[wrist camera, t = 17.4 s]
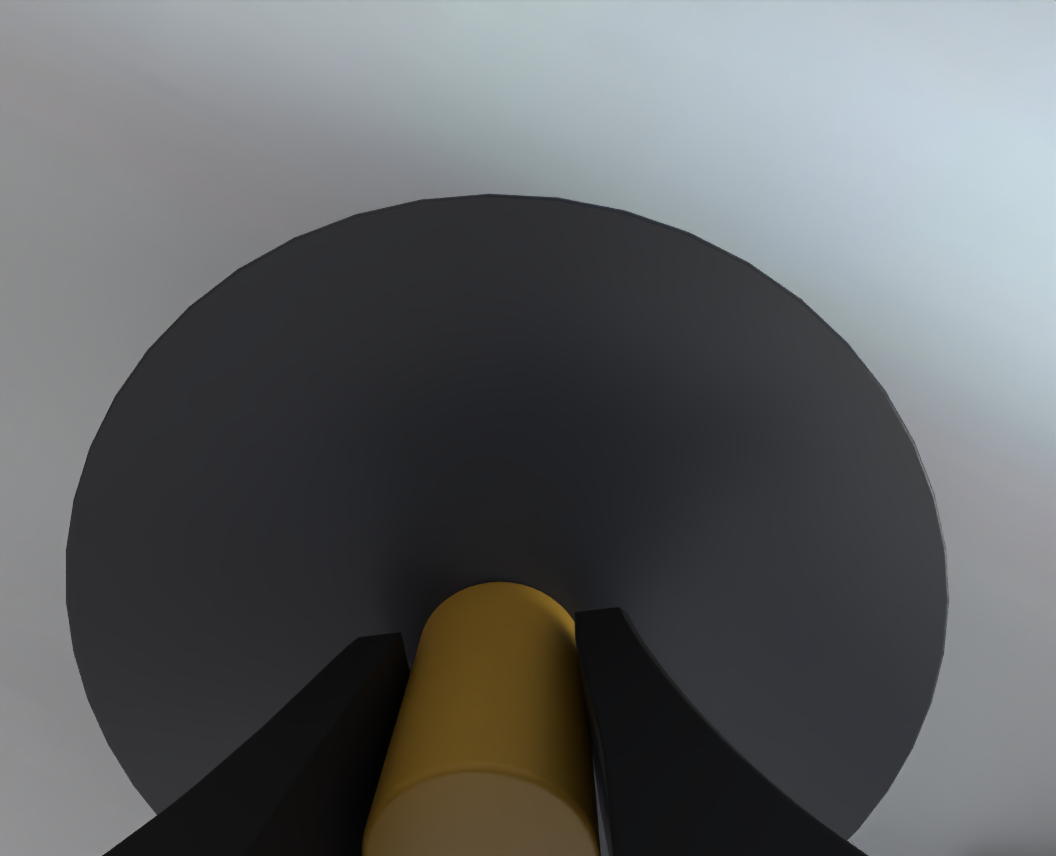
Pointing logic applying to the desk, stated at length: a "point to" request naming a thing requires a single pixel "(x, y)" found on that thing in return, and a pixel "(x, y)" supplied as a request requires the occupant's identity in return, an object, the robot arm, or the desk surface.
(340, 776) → the robot arm
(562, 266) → the lid
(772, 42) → the desk surface
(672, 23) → the desk surface
